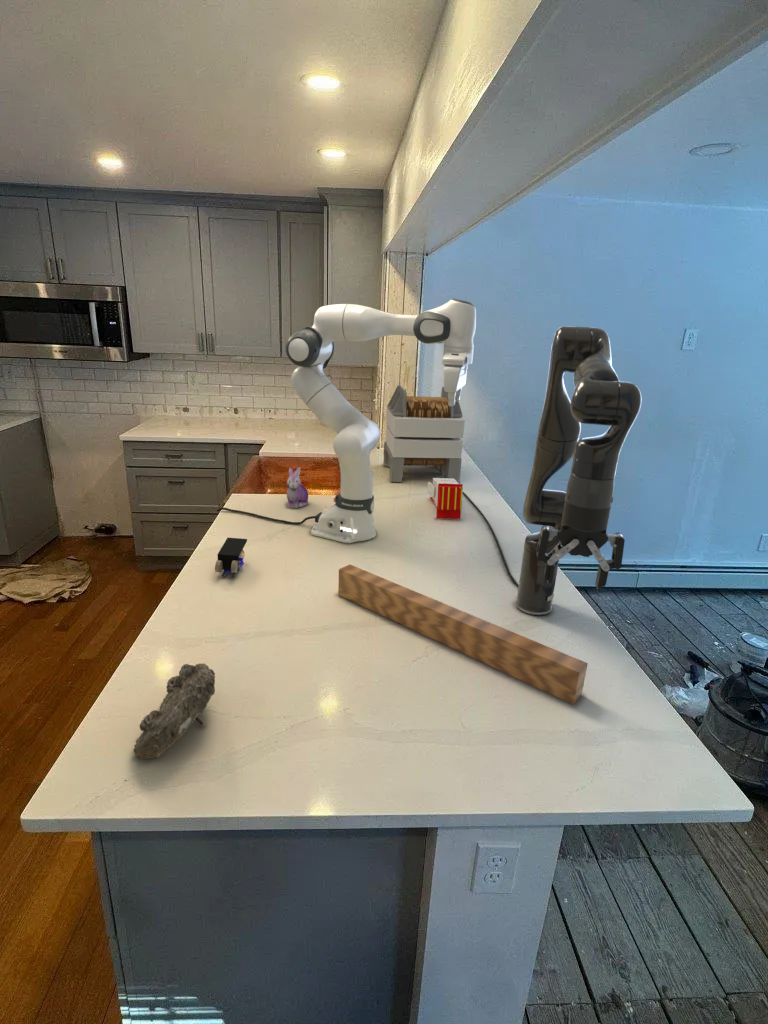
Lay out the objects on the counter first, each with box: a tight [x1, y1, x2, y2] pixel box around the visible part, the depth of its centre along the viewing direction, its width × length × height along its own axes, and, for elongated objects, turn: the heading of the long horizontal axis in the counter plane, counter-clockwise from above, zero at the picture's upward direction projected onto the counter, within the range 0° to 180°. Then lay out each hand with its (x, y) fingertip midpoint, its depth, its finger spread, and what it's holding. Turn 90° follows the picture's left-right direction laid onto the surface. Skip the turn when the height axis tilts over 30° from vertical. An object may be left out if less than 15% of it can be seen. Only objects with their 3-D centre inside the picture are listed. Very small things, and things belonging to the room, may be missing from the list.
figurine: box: [286, 466, 309, 509], centre depth 221 cm, size 9×10×15 cm
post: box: [337, 564, 588, 706], centre depth 136 cm, size 67×4×8 cm, turn 50°
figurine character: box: [214, 537, 248, 578], centre depth 166 cm, size 7×8×15 cm
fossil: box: [133, 663, 216, 760], centre depth 105 cm, size 22×10×15 cm
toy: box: [427, 477, 464, 520], centre depth 227 cm, size 12×13×30 cm
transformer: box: [383, 384, 465, 484], centre depth 268 cm, size 34×33×41 cm
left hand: (454, 403), depth 174 cm, fingers open, 8 cm apart
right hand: (573, 584), depth 102 cm, fingers open, 8 cm apart
